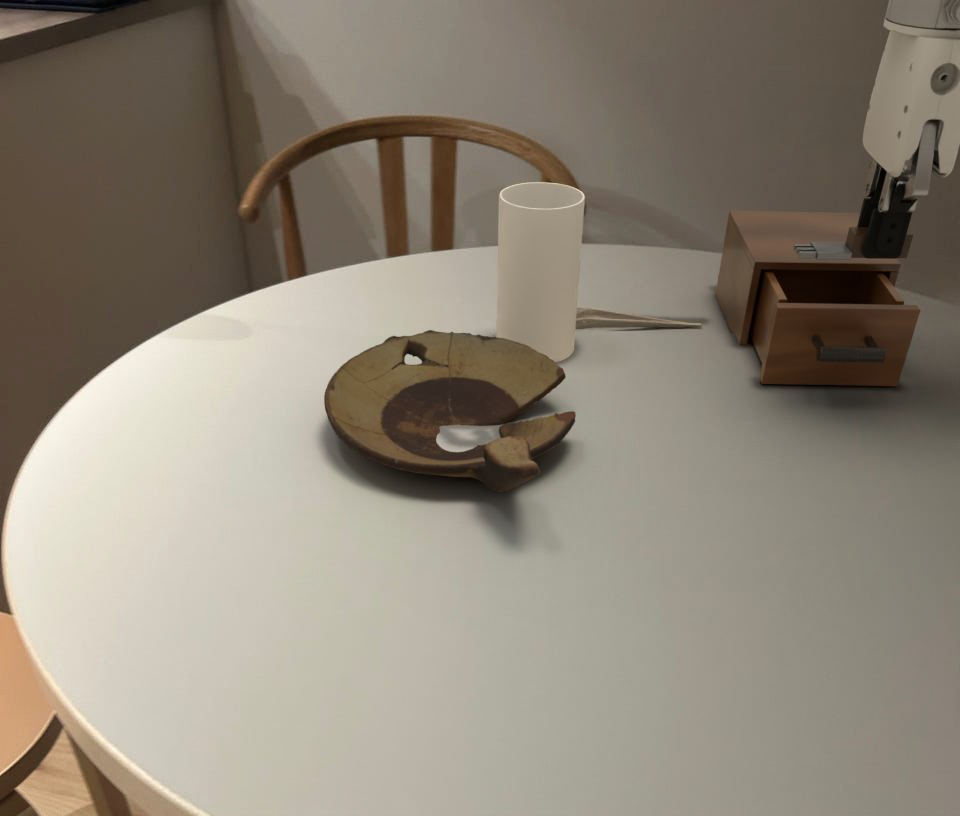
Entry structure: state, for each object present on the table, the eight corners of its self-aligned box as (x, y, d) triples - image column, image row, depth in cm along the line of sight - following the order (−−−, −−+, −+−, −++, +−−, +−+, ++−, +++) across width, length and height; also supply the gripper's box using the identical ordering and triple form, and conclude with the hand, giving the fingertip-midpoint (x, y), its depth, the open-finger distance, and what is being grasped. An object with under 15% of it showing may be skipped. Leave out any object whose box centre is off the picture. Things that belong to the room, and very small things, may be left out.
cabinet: (875, 354, 105) (901, 264, 99) (737, 352, 106) (754, 261, 99) (839, 296, 117) (860, 212, 111) (715, 294, 117) (729, 210, 111)
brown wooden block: (898, 248, 89) (904, 225, 87) (908, 260, 86) (915, 236, 85) (792, 248, 89) (796, 225, 87) (799, 259, 87) (804, 236, 85)
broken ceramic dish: (563, 378, 101) (568, 305, 96) (586, 553, 78) (594, 468, 73) (343, 376, 101) (337, 303, 96) (302, 550, 78) (291, 465, 73)
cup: (484, 362, 103) (486, 202, 93) (512, 331, 109) (516, 177, 99) (558, 376, 101) (569, 214, 91) (583, 344, 107) (595, 188, 96)
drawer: (910, 407, 95) (935, 328, 90) (769, 404, 95) (786, 326, 90) (858, 325, 109) (878, 253, 104) (736, 323, 109) (749, 251, 104)
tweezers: (546, 335, 108) (548, 317, 107) (543, 318, 112) (545, 301, 111) (703, 346, 109) (707, 329, 108) (695, 329, 113) (699, 311, 112)
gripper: (1031, 27, 69) (949, 287, 81) (952, -11, 81) (891, 221, 93) (924, 26, 69) (857, 286, 81) (861, -11, 81) (811, 221, 93)
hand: (876, 250), depth 87 cm, fingers closed on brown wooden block, 2 cm apart
